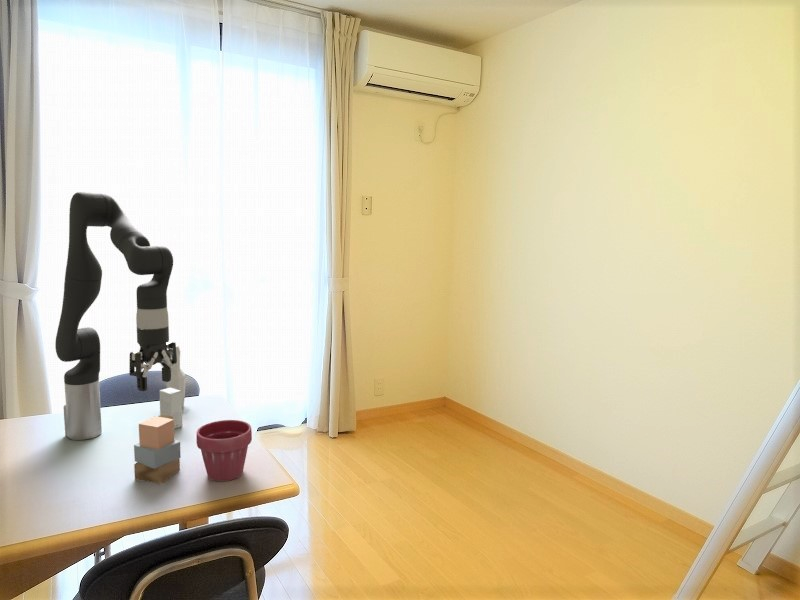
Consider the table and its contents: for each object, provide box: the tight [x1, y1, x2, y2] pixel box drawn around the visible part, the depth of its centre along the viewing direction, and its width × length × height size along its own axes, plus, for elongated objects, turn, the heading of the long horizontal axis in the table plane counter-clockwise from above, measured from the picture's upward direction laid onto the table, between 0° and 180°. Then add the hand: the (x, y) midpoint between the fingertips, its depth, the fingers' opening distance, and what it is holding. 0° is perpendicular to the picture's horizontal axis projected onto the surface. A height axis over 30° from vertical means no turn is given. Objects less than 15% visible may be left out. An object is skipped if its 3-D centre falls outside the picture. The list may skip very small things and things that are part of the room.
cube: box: [138, 415, 175, 449], centre depth 151 cm, size 6×6×6 cm
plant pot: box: [196, 419, 253, 482], centre depth 153 cm, size 14×14×13 cm
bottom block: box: [133, 458, 181, 484], centre depth 152 cm, size 8×8×4 cm
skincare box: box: [158, 388, 184, 430], centre depth 185 cm, size 6×4×12 cm
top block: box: [133, 439, 181, 469], centre depth 151 cm, size 8×8×4 cm
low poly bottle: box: [165, 345, 187, 408], centre depth 201 cm, size 6×6×22 cm
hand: (154, 385), depth 148 cm, fingers open, 8 cm apart
